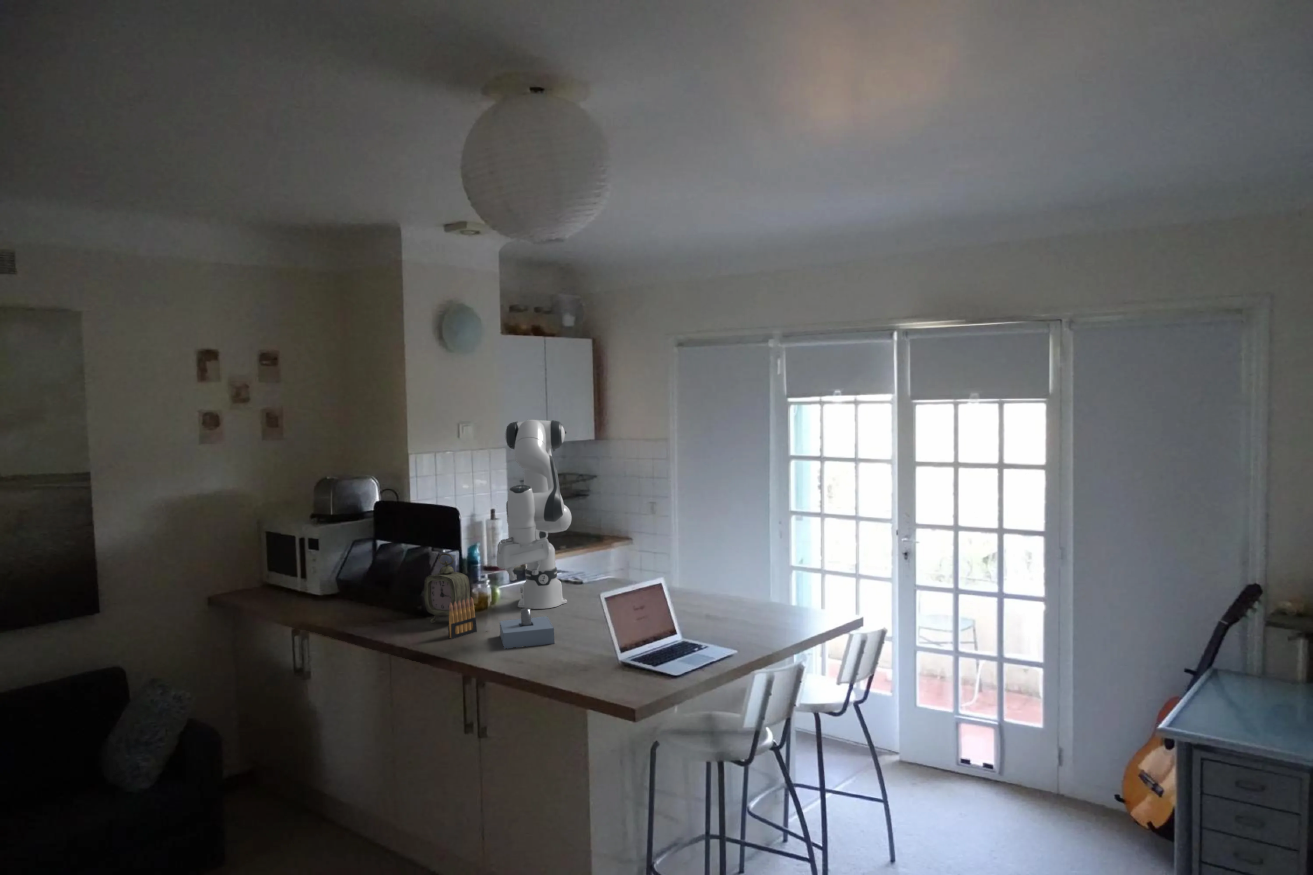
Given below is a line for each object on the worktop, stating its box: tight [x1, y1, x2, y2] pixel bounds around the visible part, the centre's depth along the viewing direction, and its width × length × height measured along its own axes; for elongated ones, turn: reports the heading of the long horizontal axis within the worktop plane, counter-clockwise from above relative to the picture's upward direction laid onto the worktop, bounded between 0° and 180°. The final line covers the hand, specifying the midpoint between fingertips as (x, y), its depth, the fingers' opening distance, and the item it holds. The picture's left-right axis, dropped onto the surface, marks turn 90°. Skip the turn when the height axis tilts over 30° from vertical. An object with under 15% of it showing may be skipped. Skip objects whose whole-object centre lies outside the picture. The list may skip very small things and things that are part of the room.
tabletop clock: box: [423, 552, 471, 624], centre depth 304 cm, size 14×9×25 cm, turn 62°
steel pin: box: [520, 608, 532, 627], centre depth 279 cm, size 3×3×10 cm
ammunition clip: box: [447, 596, 478, 640], centre depth 287 cm, size 11×2×12 cm, turn 142°
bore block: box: [499, 615, 555, 650], centre depth 279 cm, size 16×16×5 cm
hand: (524, 577), depth 278 cm, fingers open, 8 cm apart
